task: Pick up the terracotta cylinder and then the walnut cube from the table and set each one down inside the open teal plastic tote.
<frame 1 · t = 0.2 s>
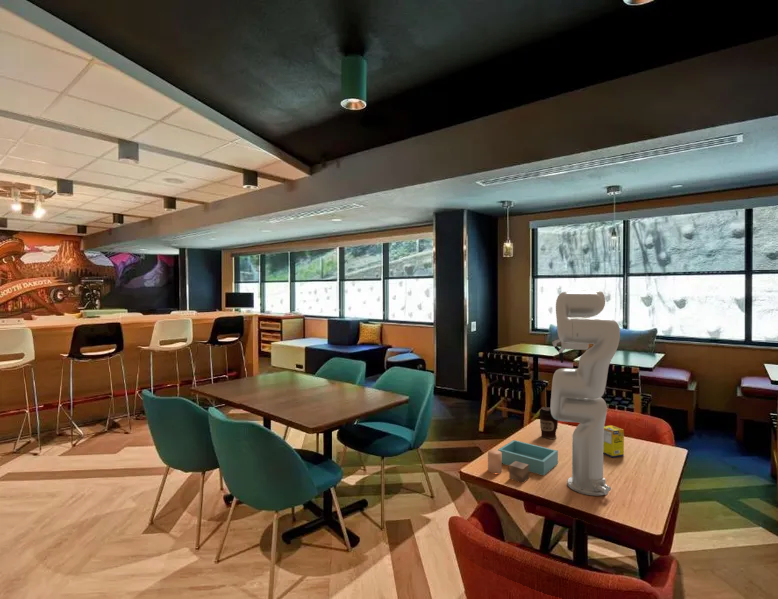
hand: (574, 362, 174), 37 cm above the table, tool pointing down, fingers open, 9 cm apart
cube: (519, 478, 150), on the table
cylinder: (494, 471, 157), on the table
tote: (527, 462, 164), on the table
supplement box: (612, 455, 172), on the table
coffee cup: (548, 437, 192), on the table
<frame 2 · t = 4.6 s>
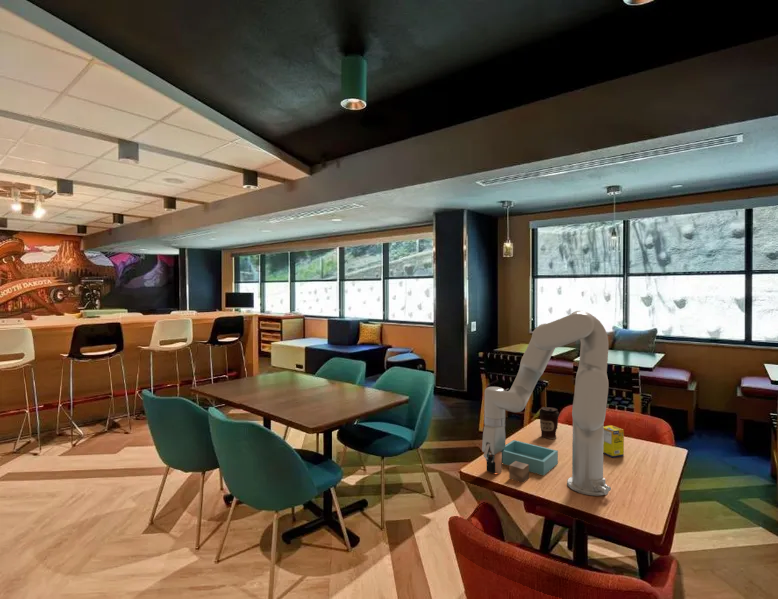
hand: (494, 469, 157), 1 cm above the table, tool pointing down, fingers closed on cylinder, 4 cm apart
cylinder: (494, 471, 157), on the table, touching gripper
everything else where it was.
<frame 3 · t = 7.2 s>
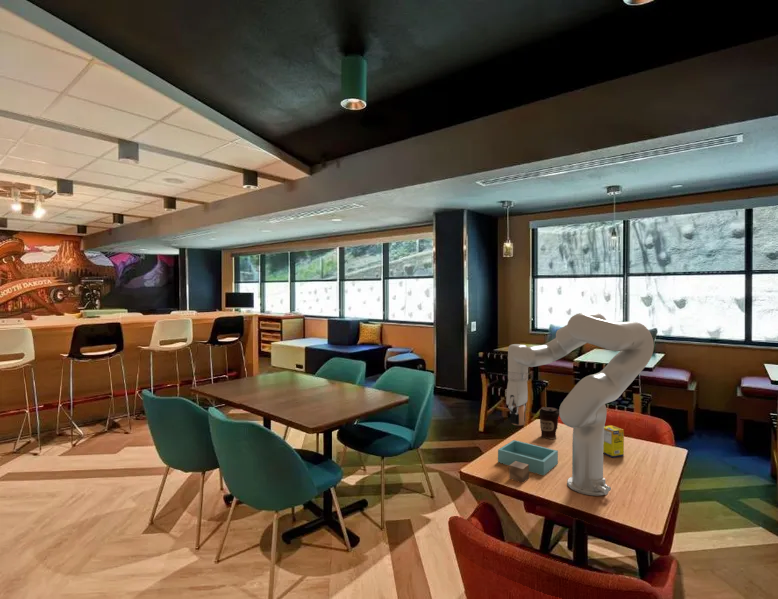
hand: (517, 421, 166), 15 cm above the table, tool pointing down, fingers closed on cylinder, 4 cm apart
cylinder: (517, 423, 166), point 15 cm above the table, touching gripper
everything else where it was.
when the fingers open (3 cm above the table, at t = 10.0 s): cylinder drops 1 cm, resting on tote.
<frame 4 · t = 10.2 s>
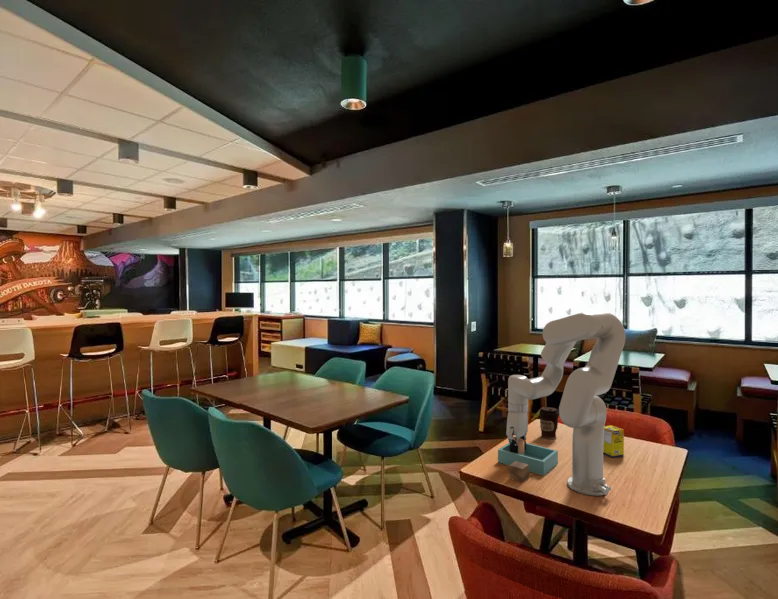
hand: (517, 451, 166), 3 cm above the table, tool pointing down, fingers open, 6 cm apart
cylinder: (517, 457, 166), point 1 cm above the table, touching tote
everything else where it was.
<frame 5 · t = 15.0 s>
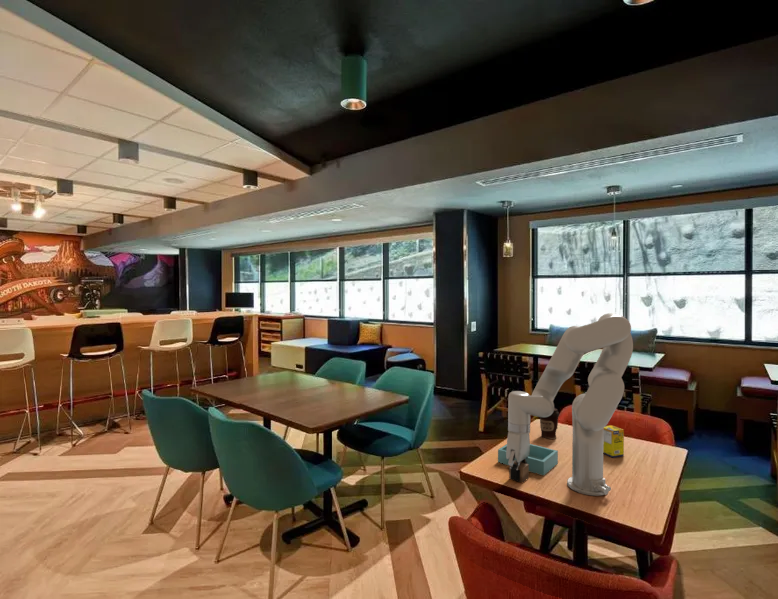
hand: (518, 477, 150), 0 cm above the table, tool pointing down, fingers closed on cube, 4 cm apart
cube: (518, 478, 150), on the table, touching gripper
everything else where it was.
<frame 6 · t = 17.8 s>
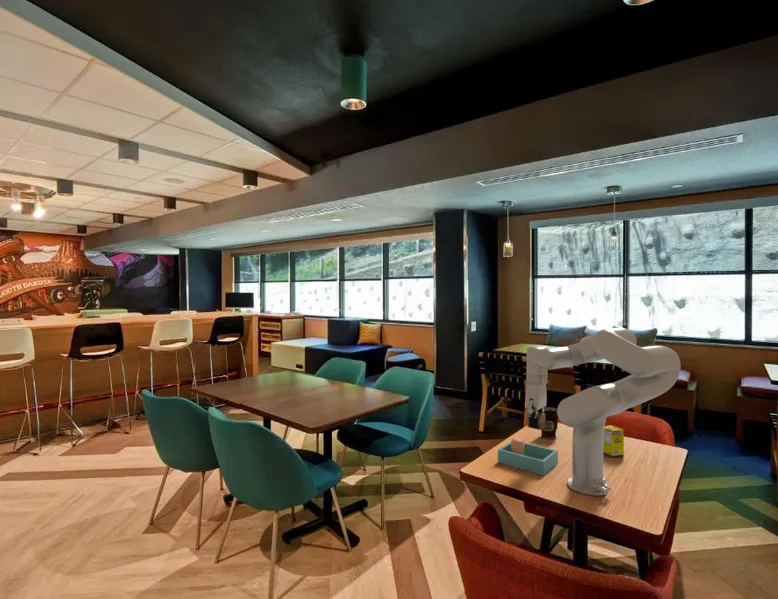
hand: (536, 425, 161), 15 cm above the table, tool pointing down, fingers closed on cube, 4 cm apart
cube: (536, 426, 161), point 15 cm above the table, touching gripper
everything else where it was.
when the fingers open (3 cm above the table, at t = 20.6 s): cube drops 1 cm, resting on tote.
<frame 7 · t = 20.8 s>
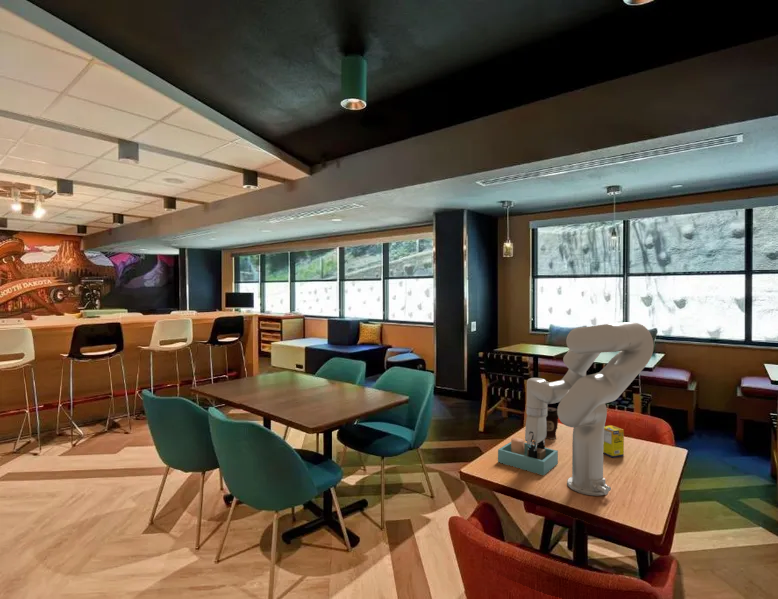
hand: (536, 457, 161), 3 cm above the table, tool pointing down, fingers open, 6 cm apart
cube: (536, 462, 162), point 1 cm above the table, touching tote
everything else where it was.
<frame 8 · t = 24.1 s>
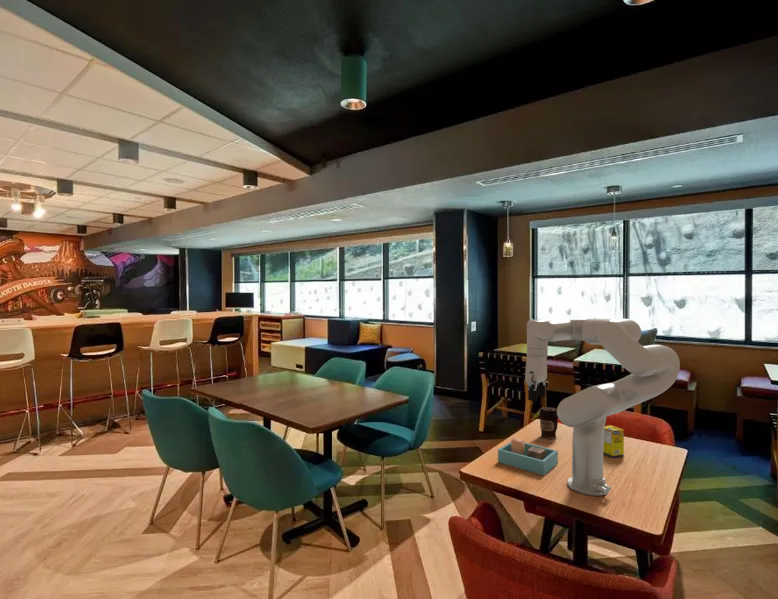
hand: (536, 398, 161), 26 cm above the table, tool pointing down, fingers open, 7 cm apart
nothing on the table moved.
at the end: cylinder inside the target area on the tote (4.0 cm from its centre), point 1.0 cm above the tote's base; cube inside the target area on the tote (3.5 cm from its centre), point 1.0 cm above the tote's base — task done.
